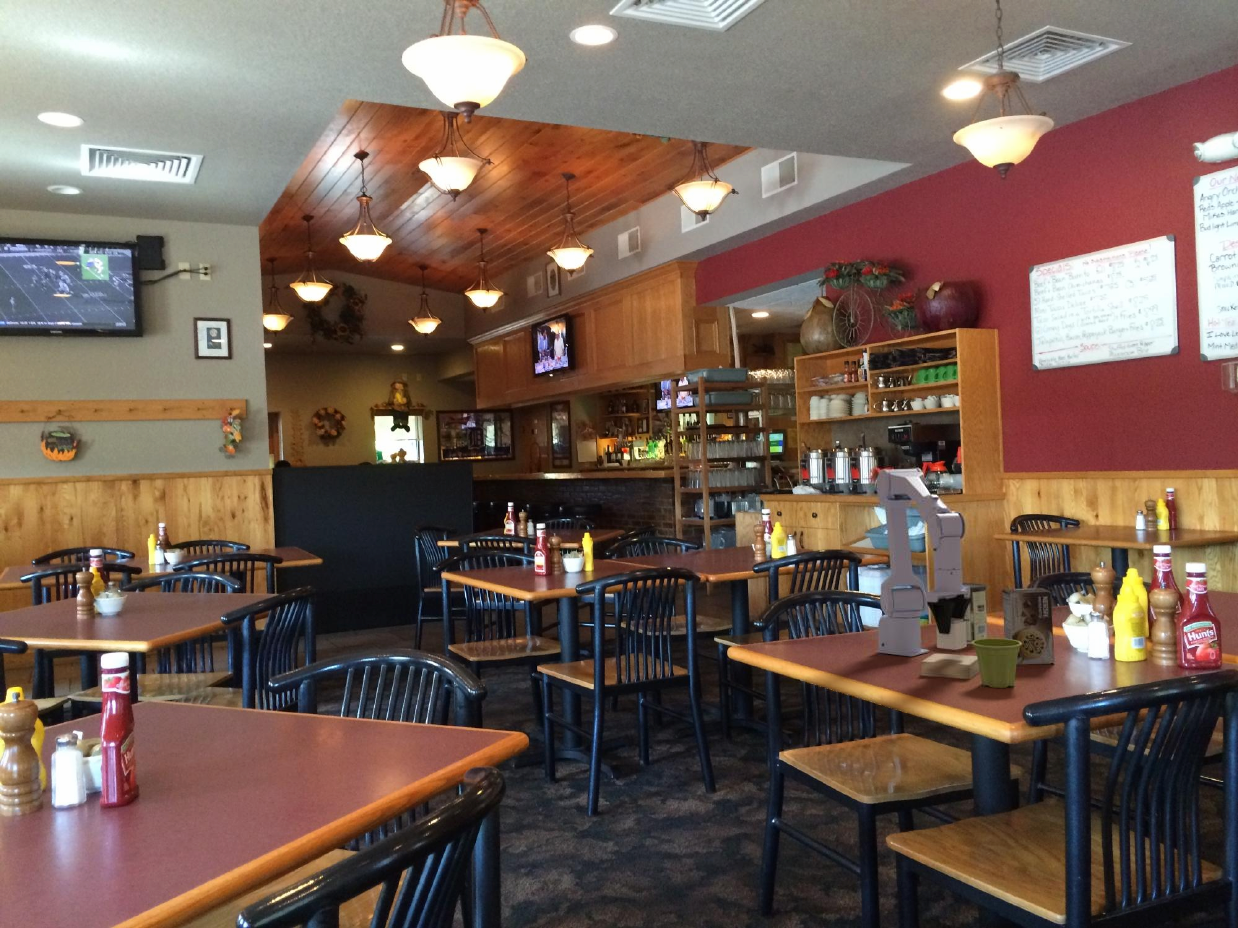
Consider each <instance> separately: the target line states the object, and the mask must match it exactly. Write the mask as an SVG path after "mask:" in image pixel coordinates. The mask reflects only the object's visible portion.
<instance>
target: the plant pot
mask: <svg viewBox="0 0 1238 928" xmlns="http://www.w3.org/2000/svg"><path fill="white" fill-rule="evenodd" d="M971 645H972V646H973V648H974V652H975V654H976V656H977V659H978V664H979V670H980V672H979V675H980V679H981V680H980V681H981V684H982V685H983V686H985V687H986V686H988V687H990V688H993V689H994V688H995V689H996V688H998V689H1005V688H1008V687H1014V686H1015V683H1016V682H1015V681H1016V670H1017V665H1016V663H1017V656H1018V652H1019V648H1020V646H1021V645H1022V643H1021V642H1020V641H1017V640H1011V639H1005V638H994V637H992V638H989V637H988V639H977V640H974V641H972V644H971Z"/></svg>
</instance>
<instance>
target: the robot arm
mask: <svg viewBox="0 0 1238 928" xmlns="http://www.w3.org/2000/svg"><path fill="white" fill-rule="evenodd" d="M876 489H877V490H876V491H877V500H878V504H880V505H882V506H883V507H884V512H885V521H886V529H887V530H886V531H887V539H888V540H887V543H888V552H889V563H890V564H889V565H890V571H891V574H890V575H889V576H888V577H887V578H886V579H885V580H884V581H882V583H881V585H880V596H879V597H880V598H879V603H880V608H881V610H882V612H883V613H884V614H883V615H882V616H880V617H879V620H878V622H877V623H878V624H877V626H878V627H877V634H878V635H877V636H878V637H877V638H878V639H877V640H878V649H877V650H876V652H877V653H881V654H888V655H897V656H904V657H914V656H918V655H922V654H926V653H929V652H930V650H929V649H924V648H922V637H921V636H922V635H921V617H923V616H924V615H923V614H924V613H925V611H926V610H927V608H929V609H930V611H931V613H932V615H933V617H934V620H935V624H937V628H938V631H939V633H940V634H949V633H950V627H951V618H958V619H963V621H964V617H965V613H966V610H967V608H968V606H969V604H970V602H971V598H970V597H964V595H970V586H962V583H963V569H962V567H963V566H962V564H963V563H962V541H961V540H962V539H963V538H964V537H965V535H966V529H967V528H966V521H965V518H964V516H963V515H962V513H961V512H960V511H951V510H950V509H949V508H948V506H947V505H946V504H945V503H944V501H943V500H942V499H941V498H940V496H939V495H937V494H931V493H930V491H929V490H928V488H927V487H926V480H925V475H924V472H923V471H922V470H921V468H919V467H915V468H900V469H886V468H884V469H881V470H880V471H879V472H878V476H877V478H876ZM914 503H915V504H916V512H917V514H918V515H919V517H920V518H922V520H923V521H924V522H925V523H926V525H927V534H928V537H929V542H930V543H929V544H930V547H931V548H932V549H933V550H932V551H933V581H934V589H932V590H931V591H927V592H926V590H925V586H924V585H925V584H924V582H923V580H921V579H920V578H919V577H918V576H916V575H915V574H914V573H913V566H912V565H913V563H912V554H911V553H912V552H911V544H910V543H911V541H910V535H909V523H908V512H907V509H908V507H909V506H910V505H912V504H914ZM896 587H901V588H896ZM902 587H903V588H902ZM948 595H949V596H948ZM937 628H936V629H937Z"/></svg>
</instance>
